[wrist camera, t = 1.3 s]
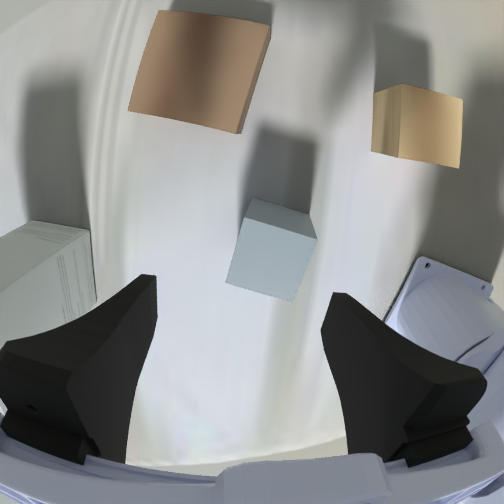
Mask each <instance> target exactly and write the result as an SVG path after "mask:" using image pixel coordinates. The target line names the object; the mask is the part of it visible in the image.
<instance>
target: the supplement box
mask: <svg viewBox="0 0 504 504" xmlns="http://www.w3.org/2000/svg"><path fill="white" fill-rule="evenodd" d="M96 303H97V300H96V294H95V286H94V277H93V268H92V257H91V245H90V231H89V230H86V229H81V228H76V227H70V226H65V225H59V224H53V223H47V222H41V221H34V220H32V221H30V222H28V223H26V224H24V225H22V226H21V227H19V228H17V229H15V230H13V231H11V232H9V233H7V234H6V235H4V236H2V237H0V350H1V348H2V347H3V345H4V344H5V343H6V341H10V340H15V339H20V338H24V337H29V336H33V335H36V334H39V333H43V332H46V331H49V330H52V329H54V328H57V327H59V326H61V325H64V324H66V323H68V322H71V321H73V320H75V319H77V318H79V317H81V316H83V315H85V314H86V313H88V311H89V310H90V309H91V308H92V307H93V306H94V305H95V304H96Z"/></svg>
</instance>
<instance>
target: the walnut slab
mask: <svg viewBox="0 0 504 504" xmlns="http://www.w3.org/2000/svg"><path fill="white" fill-rule="evenodd" d="M270 39H271V35H270V25H265V24H261V23H256V22H251V21H246V20H241V19H236V18H230V17H223V16H217V15H209V14H201V13H192V12H180V11H165V10H159V11H158V14H157V16H156V19H155V22H154V24H153V27H152V30H151V33H150V35H149V38H148V41H147V44H146V47H145V50H144V53H143V56H142V60H141V63H140V66H139V70H138V73H137V76H136V80H135V84H134V87H133V91H132V95H131V99H130V103H129V107H128V111H131V112H137V113H143V114H148V115H154V116H159V117H164V118H169V119H174V120H179V121H184V122H188V123H193V124H197V125H202V126H206V127H210V128H214V129H218V130H222V131H226V132H230V133H234V134H241V132H242V129H243V126H244V122H245V119H246V115H247V112H248V109H249V105H250V102H251V99H252V96H253V92H254V89H255V86H256V83H257V79H258V76H259V73H260V70H261V67H262V64H263V61H264V58H265V54H266V51H267V48H268V45H269V42H270Z"/></svg>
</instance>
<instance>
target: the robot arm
mask: <svg viewBox="0 0 504 504" xmlns="http://www.w3.org/2000/svg"><path fill="white" fill-rule="evenodd" d="M426 263H429V264H428V266H427V267H425V265H426ZM482 286H483V287H482ZM481 287H482V288H481ZM492 291H493V285H492V284H490V283H488V282H486V281H484V280H481V279H479V278H477V277H474V276H472V275H469V274H467V273H464V272H462V271H460V270H457V269H455V268H452V267H450V266H447V265H445V264H442V263H440V262H437V261H435V260H432V259H429V258H427V257H424V256H421V257H419V258H418V259H417V260H416V262H415V264H414V266H413V269H412V271H411V273H410V275H409V277H408V279H407V281H406V283H405V285H404V287H403V289H402V290H401V292H400V294H399V296H398V298H397V300H396V302H395V304H394V306H393V307H392V309H391V311H390V313H389V315H388V316H387V318H386V320H385V322H383V321H381V320H380V319H379V318H378V317H376V316H375V315H374V314H373V313H371V312H370V311H369V310H368V309H366V308H365V307H364V306H363V305H362V304H360V303H359V302H358V301H357V300H355V299H354V298H353V297H351V296H350V295H348V294H347V293H337V292H333V294H332V297H331V300H330V303H329V306H328V310H327V313H326V316H325V319H324V322H323V325H322V327H321V336H322V342H323V347H324V351H325V354H326V357H327V360H328V363H329V366H330V369H331V372H332V375H333V378H334V381H335V384H336V387H337V390H338V393H339V397H340V401H341V406H342V411H343V416H344V423H345V429H346V437H347V447H348V455H343V456H334V457H325V458H315V459H302V460H283V461H260V462H249V463H242V464H239V465H235V466H232V467H228V468H227V469H225V470H224V471H223V472H222V473H221V474H220V475H219V476H217V477H215V476H202V475H191V474H181V473H173V472H166V471H160V470H153V469H147V468H141V467H137V466H132V465H127V464H125V459H126V448H127V439H128V431H129V424H130V418H131V412H132V406H133V401H134V396H135V391H136V386H137V383H138V379H139V376H140V373H141V371H142V368H143V365H144V362H145V359H146V356H147V353H148V351H149V348H150V345H151V342H152V339H153V336H154V331H155V327H156V322H157V317H158V315H157V283H156V276H154V275H146V274H141V275H140V276H138V277H137V278H136V279H135V280H133V281H132V282H131V283H130V284H128V285H127V286H126V287H124V288H123V289H122V290H120V291H119V292H118V293H117V294H115V295H114V296H113V297H111V298H110V299H108V300H107V301H105V302H104V303H102V304H101V305H99V306H98V307H96V308H95V309H93V310H92V311H90V312H88V313H86V314H85V315H83V316H81V317H79V318H77V319H75V320H73V321H71V322H68V323H66V324H64V325H61V326H59V327H57V328H54V329H52V330H49V331H46V332H43V333H39V334H36V335H33V336H29V337H24V338H20V339H15V340H10V341H6V343H5V344H4V345H3V347H2V348H1V350H0V398H1V400H2V401H3V403H4V404H5V406H6V407H7V409H8V410H7V412H6V414H5V416H4V415H3V414H1V413H0V493H1V494H2V495H4V496H6V497H8V498H9V499H11V500H13V501H15V502H17V503H19V504H457V503H461V504H504V311H503V310H502V309H501V308H500V307H499V306H498V305H497V304H496V303H495V302H494V301H493V300H492V299H491V298H490V295H491V293H492Z"/></svg>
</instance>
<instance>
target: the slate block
mask: <svg viewBox="0 0 504 504" xmlns="http://www.w3.org/2000/svg"><path fill="white" fill-rule="evenodd" d="M316 242H317V237H316V233H315V230H314V227H313V224H312V221H311V218H310V215H308V214H305V213H302V212H299V211H296V210H293V209H289V208H286V207H283V206H280V205H277V204H273V203H270V202H267V201H264V200H260V199H257V198H253V197H252V200H251V202H250V204H249V207H248V209H247V211H246V214H245V216H244V219H243V223H242V226H241V230H240V233H239V237H238V240H237V244H236V247H235V251H234V254H233V258H232V261H231V265H230V268H229V272H228V275H227V279H226V282H225V283H228V284H231V285H234V286H238V287H241V288H245V289H248V290H251V291H255V292H258V293H262V294H265V295H269V296H272V297H276V298H279V299H283V300H286V301H290V302H293V300H294V298H295V295H296V293H297V291H298V288H299V286H300V283H301V281H302V278H303V276H304V273H305V271H306V268H307V266H308V263H309V261H310V258H311V255H312V253H313V250H314V248H315V245H316Z"/></svg>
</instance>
